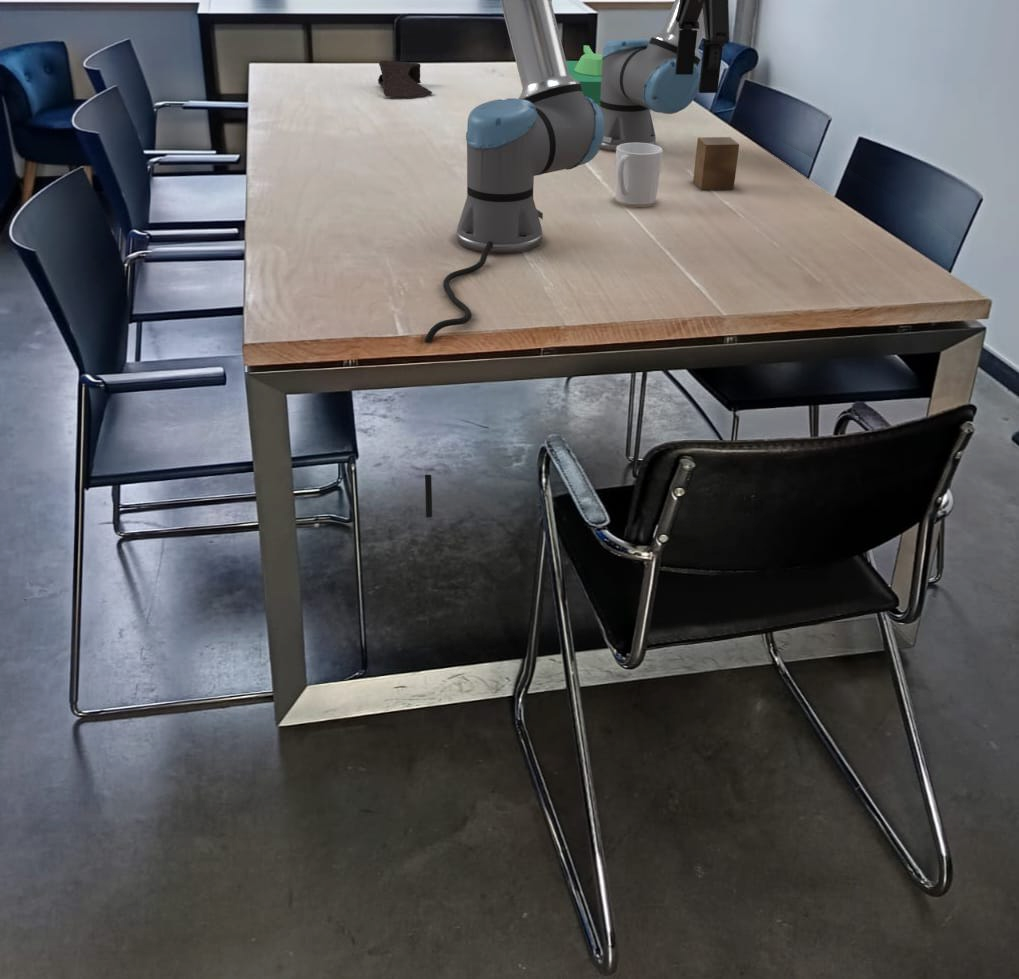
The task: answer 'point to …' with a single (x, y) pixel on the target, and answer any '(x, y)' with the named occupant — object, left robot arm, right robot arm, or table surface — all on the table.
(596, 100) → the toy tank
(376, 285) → the table surface
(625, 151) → the mug
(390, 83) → the axe head
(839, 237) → the table surface
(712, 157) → the brick
